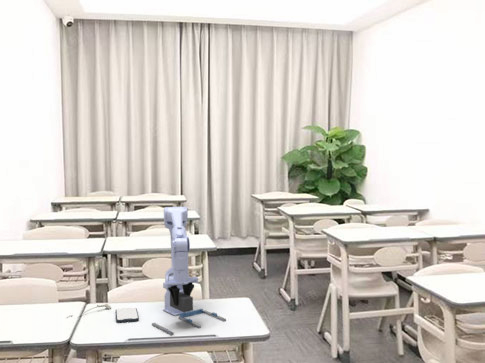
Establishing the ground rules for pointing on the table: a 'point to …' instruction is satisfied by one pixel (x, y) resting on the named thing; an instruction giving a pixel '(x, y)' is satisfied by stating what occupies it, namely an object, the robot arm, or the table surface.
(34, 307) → the table surface
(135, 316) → the phone case
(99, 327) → the table surface
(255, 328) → the table surface
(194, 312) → the silver and blue frame
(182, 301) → the dark grey block
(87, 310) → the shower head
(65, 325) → the table surface
